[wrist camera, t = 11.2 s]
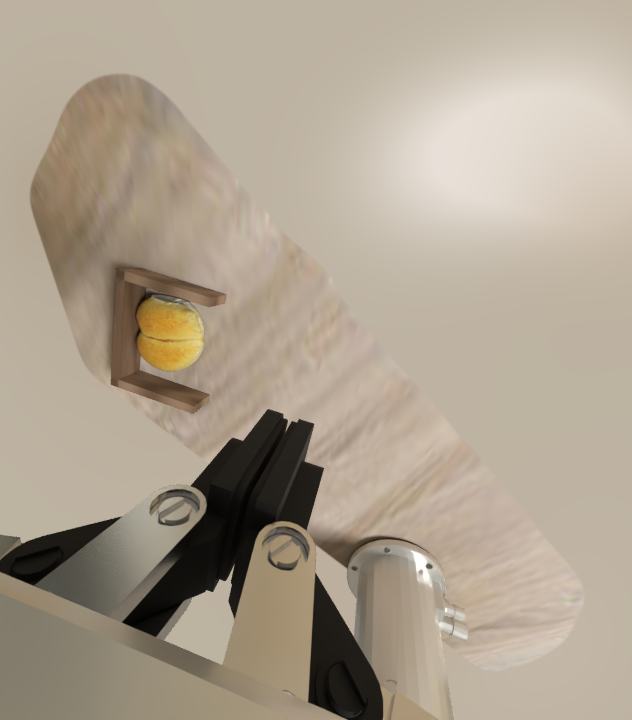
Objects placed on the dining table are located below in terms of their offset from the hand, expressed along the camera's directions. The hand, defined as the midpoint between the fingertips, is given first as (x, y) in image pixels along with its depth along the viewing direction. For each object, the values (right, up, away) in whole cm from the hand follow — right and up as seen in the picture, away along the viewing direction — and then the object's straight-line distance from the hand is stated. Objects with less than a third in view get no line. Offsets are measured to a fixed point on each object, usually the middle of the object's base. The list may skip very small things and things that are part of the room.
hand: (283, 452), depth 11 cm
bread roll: (-16, +7, +28) cm, 33 cm away
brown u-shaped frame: (-16, +6, +28) cm, 33 cm away
